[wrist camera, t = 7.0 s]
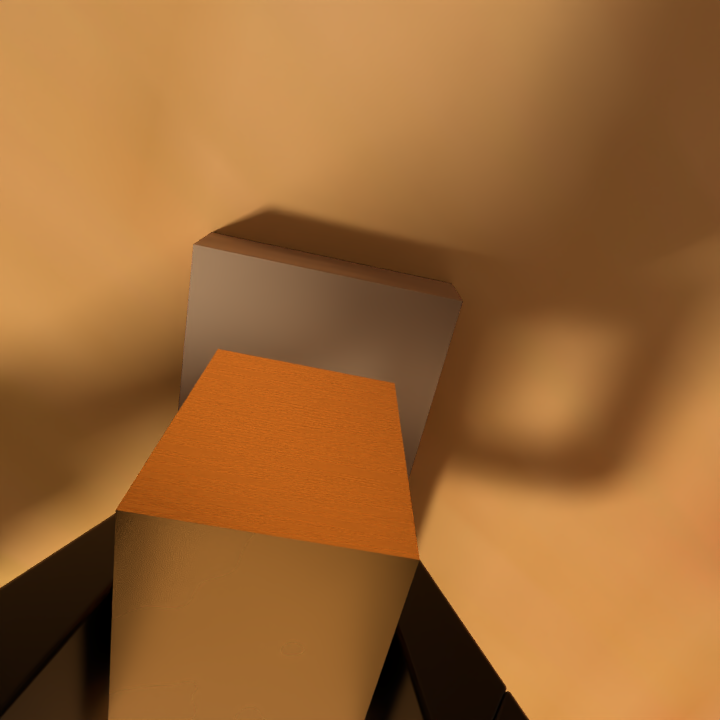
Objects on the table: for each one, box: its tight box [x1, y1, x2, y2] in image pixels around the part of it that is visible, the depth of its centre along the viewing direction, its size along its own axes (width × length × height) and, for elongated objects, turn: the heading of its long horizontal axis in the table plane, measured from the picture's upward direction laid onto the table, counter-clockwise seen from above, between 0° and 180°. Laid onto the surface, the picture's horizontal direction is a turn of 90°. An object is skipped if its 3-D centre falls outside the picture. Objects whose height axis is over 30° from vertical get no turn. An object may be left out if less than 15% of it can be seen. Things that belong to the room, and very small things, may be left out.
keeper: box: [178, 232, 463, 479], centre depth 17 cm, size 13×8×6 cm, turn 168°
